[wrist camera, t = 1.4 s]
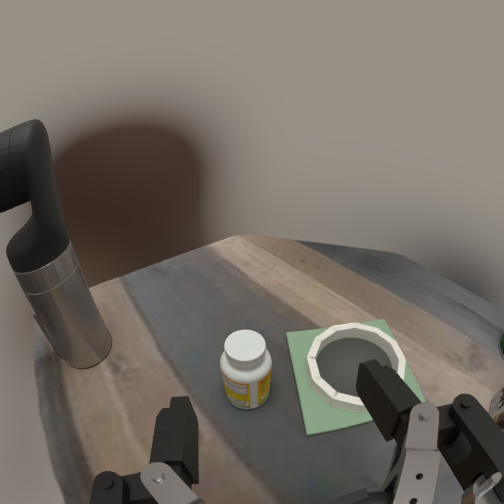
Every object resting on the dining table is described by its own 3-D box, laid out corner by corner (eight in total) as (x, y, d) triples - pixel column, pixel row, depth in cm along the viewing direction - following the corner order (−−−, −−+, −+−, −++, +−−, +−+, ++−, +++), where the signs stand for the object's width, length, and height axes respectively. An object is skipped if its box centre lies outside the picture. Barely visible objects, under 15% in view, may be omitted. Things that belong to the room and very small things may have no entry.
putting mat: (306, 436, 24) (309, 428, 23) (285, 335, 38) (286, 323, 37) (423, 403, 25) (432, 393, 24) (382, 321, 39) (387, 309, 37)
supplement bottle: (231, 414, 27) (222, 372, 22) (221, 379, 32) (211, 330, 27) (276, 403, 28) (280, 358, 23) (262, 370, 33) (262, 319, 28)
